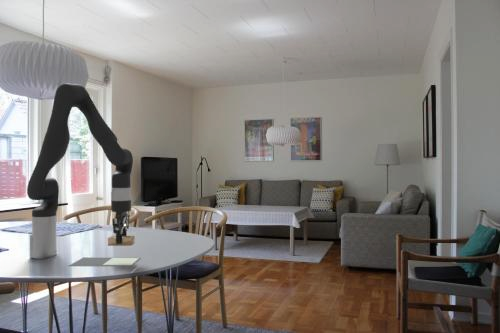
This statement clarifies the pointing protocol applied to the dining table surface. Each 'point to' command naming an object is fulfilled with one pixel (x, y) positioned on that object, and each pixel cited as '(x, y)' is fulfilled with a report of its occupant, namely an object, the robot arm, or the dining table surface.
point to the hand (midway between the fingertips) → (121, 242)
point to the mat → (106, 262)
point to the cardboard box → (125, 241)
